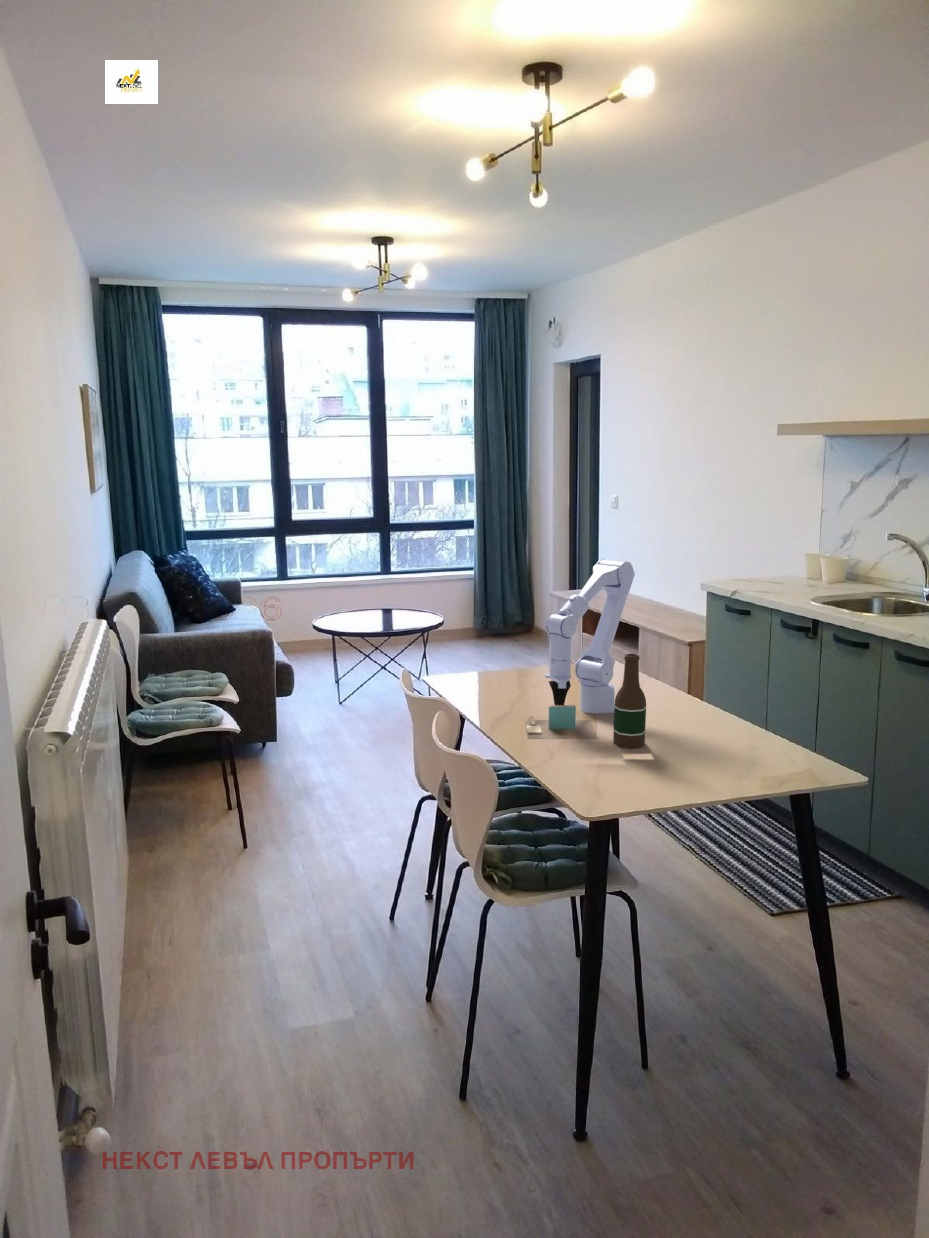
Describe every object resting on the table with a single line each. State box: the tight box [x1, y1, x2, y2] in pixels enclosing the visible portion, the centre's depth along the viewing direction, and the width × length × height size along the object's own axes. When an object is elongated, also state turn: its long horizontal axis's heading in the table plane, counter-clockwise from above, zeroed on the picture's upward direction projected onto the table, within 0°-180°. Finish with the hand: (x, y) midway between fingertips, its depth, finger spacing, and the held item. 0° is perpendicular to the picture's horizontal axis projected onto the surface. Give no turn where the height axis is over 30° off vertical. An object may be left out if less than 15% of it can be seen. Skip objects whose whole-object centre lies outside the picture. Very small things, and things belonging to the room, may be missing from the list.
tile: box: [547, 704, 577, 729], centre depth 235 cm, size 7×2×6 cm, turn 90°
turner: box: [525, 715, 542, 734], centre depth 237 cm, size 4×14×1 cm, turn 0°
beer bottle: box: [612, 653, 647, 750], centre depth 221 cm, size 8×8×24 cm
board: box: [523, 719, 599, 740], centre depth 235 cm, size 18×16×1 cm
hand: (559, 707), depth 243 cm, fingers closed
